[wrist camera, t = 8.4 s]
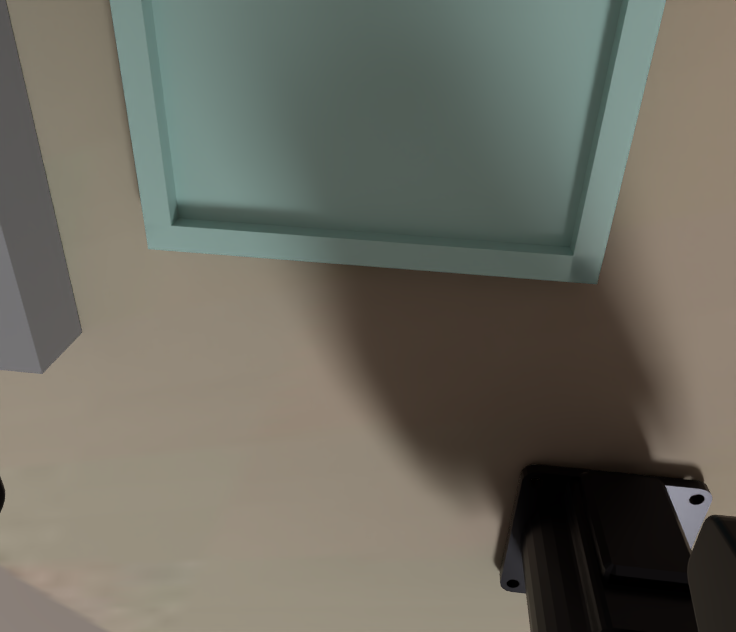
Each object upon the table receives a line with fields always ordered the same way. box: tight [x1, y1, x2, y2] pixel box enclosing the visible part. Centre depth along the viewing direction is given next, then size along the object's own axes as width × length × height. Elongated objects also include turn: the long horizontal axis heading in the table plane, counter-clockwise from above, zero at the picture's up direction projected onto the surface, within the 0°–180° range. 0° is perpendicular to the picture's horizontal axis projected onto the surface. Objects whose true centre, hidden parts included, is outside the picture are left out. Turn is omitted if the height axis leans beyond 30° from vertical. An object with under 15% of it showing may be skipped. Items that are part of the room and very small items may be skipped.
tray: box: [110, 0, 666, 284], centre depth 16 cm, size 13×10×1 cm
